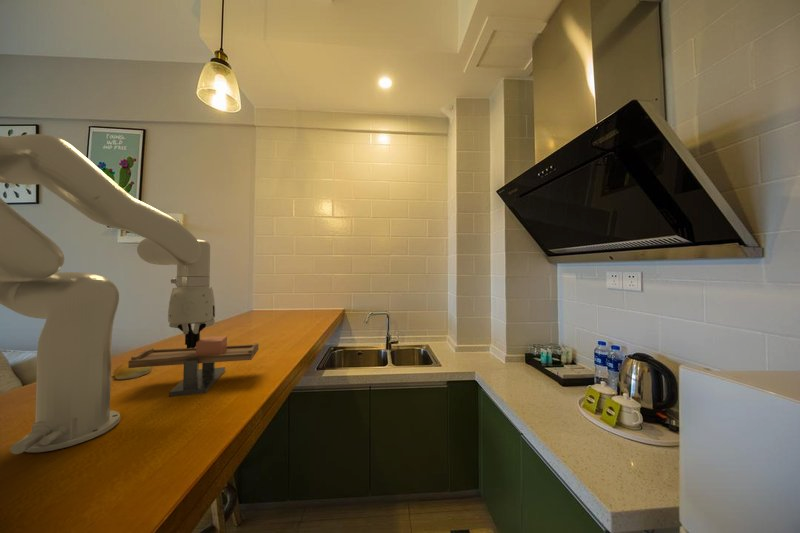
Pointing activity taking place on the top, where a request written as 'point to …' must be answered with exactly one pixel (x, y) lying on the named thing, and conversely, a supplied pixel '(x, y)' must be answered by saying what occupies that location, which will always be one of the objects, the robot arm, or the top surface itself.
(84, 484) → the top surface
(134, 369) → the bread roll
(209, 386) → the balance stand
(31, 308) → the robot arm
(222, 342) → the weight block
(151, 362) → the balance beam
